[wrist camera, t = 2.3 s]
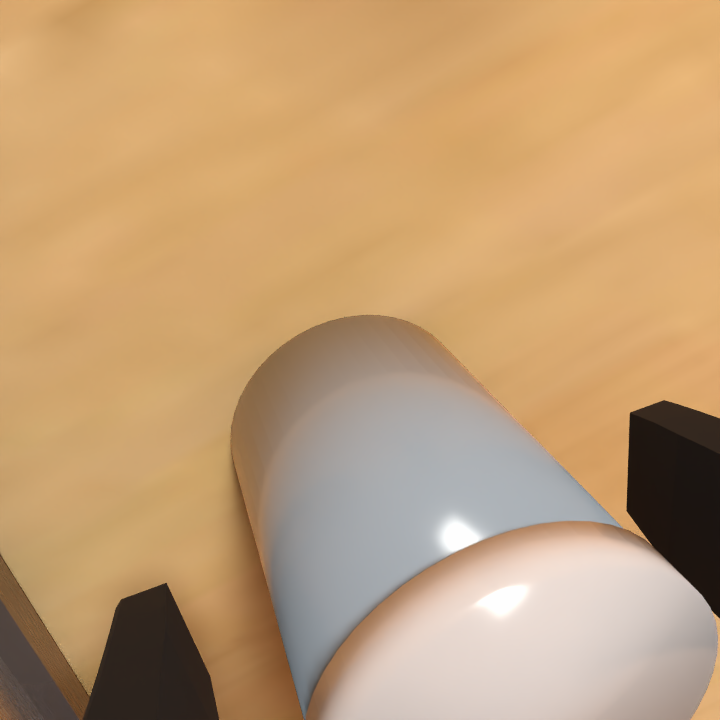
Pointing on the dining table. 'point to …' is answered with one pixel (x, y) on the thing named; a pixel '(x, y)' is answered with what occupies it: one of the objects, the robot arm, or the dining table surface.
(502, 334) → the dining table surface
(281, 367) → the jar
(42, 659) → the pusher lane
